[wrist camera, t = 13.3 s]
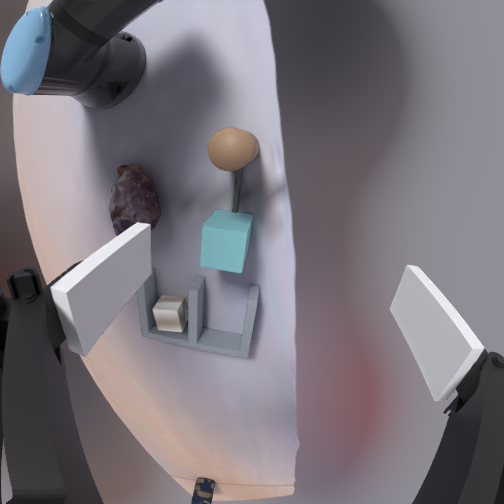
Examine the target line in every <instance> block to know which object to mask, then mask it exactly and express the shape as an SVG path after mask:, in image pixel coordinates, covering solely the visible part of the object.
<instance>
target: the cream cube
mask: <svg viewBox="0 0 504 504" xmlns="http://www.w3.org/2000/svg"><path fill="white" fill-rule="evenodd" d="M153 313H154V317H155V320H156V324H157V327H158V330H161V331H172V332H183V329H184V327H185V325H186V323H187V321H188V309H187V304H186V299H185V296H163V295H162V296H161V297H160V299H159V300H158V302H157V303H156V305H155V306H154V308H153Z"/></svg>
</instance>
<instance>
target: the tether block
mask: <svg viewBox="0 0 504 504" xmlns="http://www.w3.org/2000/svg"><path fill="white" fill-rule="evenodd" d="M258 152H259V142H258V140H257V138H256V137H255V136H254V135H253V134H251V133H249V132H246V131H243V130H240V129H237V128H230V127H229V128H224V129H221V130H219V131H217V132H216V133H215V134H214V135H213V136H212V138H211V139H210V141H209V144H208V155H209V158H210V160H211V162H212V163H213V164H214V165H215V166H216V167H218V168H219V169H221V170H224V171H236V170H237V175H236V183H235V191H234V199H233V208H232V211H226V210H219V209H216V211H215V212H214V213H213V214H212V215H211V216H210V218H209V219H208V220H207V221H206V222H205V224H204V225H203V226H202V238H201V254H200V267H206V268H212V269H217V270H223V271H229V272H235V273H242V271H243V267H244V263H245V260H246V256H247V252H248V248H249V241H250V234H251V227H252V219H253V214H246V213H239V212H237V207H238V199H239V191H240V183H241V175H242V168H243V167H244V166H245V165H246V164H248V163H249V162H250V161H252V160H253V159H254V158H255V157H256V156H257V154H258Z"/></svg>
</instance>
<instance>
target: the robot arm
mask: <svg viewBox="0 0 504 504" xmlns="http://www.w3.org/2000/svg"><path fill="white" fill-rule="evenodd" d="M162 1H163V0H53V1H52V2H51V3H50V4H49V6H48V7H47V8H46V7H44V6H43V7H42V6H41V7H36V8H33V9H31V10H30V11H29V12H27V13H25V14H24V15H23V16H22V18H21V19H20V20H19V21H18V22H17V24H16V25H15V27H14V28H13V30H12V32H11V34H10V36H9V38H8V40H7V42H6V45H5V48H4V51H3V56H2V61H1V79H2V83H3V85H4V87H5V88H6V89H7V90H8V91H9V92H12V93H19V94H25V95H63V96H71V97H73V98H74V99H76V100H77V101H79V102H80V103H81V104H83V105H85V106H87V107H91V108H108V107H111V106H114V105H116V104H118V103H119V102H121V101H122V100H124V99H125V98H126V97H127V96H128V95H129V94H130V93H131V92H132V91H133V89H134V88H135V87H136V85H137V84H138V82H139V80H140V78H141V76H142V74H143V71H144V67H145V60H146V55H145V49H144V47H143V45H142V43H141V42H140V40H139V39H137V38H136V37H135V36H133V35H131V34H129V33H127V32H123V31H121V30H123V29H124V28H125V27H126V26H127V25H129V24H130V23H131V22H132V21H134V20H135V19H136V18H138V17H139V16H140V15H142V14H143V13H144V12H146V11H147V10H148V9H150V8H151V7H153V6H154V5H155V4H157V3H158V2H159V3H160V2H162ZM151 274H152V268H151V224H145V223H138V222H137V223H136V224H134V225H133V226H131V227H130V228H128V229H127V230H125V231H124V232H123V233H121V234H120V235H118V236H117V237H115V238H114V239H113V240H111V241H110V242H108V243H107V244H106V245H104V246H103V247H101V248H100V249H99V250H97V251H96V252H95V253H93V254H92V255H91V256H89V257H88V258H87V259H85V260H83V261H80V262H78V263H76V264H74V265H72V266H71V267H70V268H68V269H67V271H65V272H63V273H62V274H61V276H58V277H57V278H56V279H54V280H53V281H52V282H51V283H50V284H48V285H47V286H46V287H45V288H44V289H42V285H41V281H40V277H39V273H38V270H36V269H35V268H31V267H28V268H22V269H18V270H16V271H14V272H13V273H12V274H10V275H9V276H8V278H7V282H8V286H9V289H10V293H11V296H12V299H11V298H5V296H4V293H3V290H2V288H1V287H0V504H2V501H1V459H2V446H3V436H4V446H5V454H6V460H7V466H8V472H9V477H10V482H11V486H12V492H13V497H12V499H11V500H10V501H8V502H6V504H104V503H103V501H102V499H101V497H100V494H99V492H98V489H97V487H96V485H95V482H94V480H93V477H92V474H91V472H90V469H89V466H88V464H87V460H86V457H85V454H84V451H83V448H82V445H81V441H80V438H79V434H78V430H77V427H76V423H75V419H74V415H73V410H72V405H71V401H70V395H69V390H68V384H67V378H66V372H65V363H64V355H63V350H62V347H61V343H62V342H63V341H64V340H65V339H66V341H67V343H68V346H69V349H70V350H71V351H73V352H75V353H78V354H80V355H82V356H85V357H86V355H87V354H88V353H89V351H90V350H91V348H92V347H93V346H94V344H95V343H96V342H97V340H98V339H99V338H100V337H101V335H102V334H103V333H104V331H105V330H106V329H107V327H108V326H109V325H110V324H111V322H112V321H113V320H114V319H115V317H116V316H117V315H118V314H119V312H120V311H121V310H122V309H123V307H124V306H125V305H126V304H127V302H128V301H129V300H130V299H131V297H132V296H133V295H134V294H135V293H136V291H137V290H138V289H139V288H140V287H141V285H142V284H143V283H144V282H145V281H146V279H147V278H148V277H149V276H150V275H151ZM390 311H391V313H392V314H393V316H394V318H395V320H396V322H397V324H398V325H399V327H400V329H401V331H402V333H403V335H404V337H405V339H406V341H407V343H408V345H409V347H410V349H411V351H412V353H413V355H414V357H415V359H416V361H417V363H418V365H419V368H420V370H421V372H422V374H423V376H424V378H425V381H426V383H427V385H428V387H429V390H430V392H431V394H432V397H433V399H434V401H439V400H445V399H448V398H449V396H450V395H451V394H452V393H453V392H454V390H455V389H456V390H457V392H458V396H457V397H456V398H455V399H454V400H453V401H452V403H451V404H450V405H449V406H448V407H447V408H446V409H445V411H444V414H445V413H446V412H447V411H448V410H451V412H450V413H449V414H448V416H449V418H448V422H447V425H446V428H445V431H444V434H443V437H442V439H441V442H440V445H439V447H438V450H437V453H436V455H435V458H434V460H433V462H432V465H431V467H430V469H429V472H428V474H427V476H426V478H425V480H424V482H423V484H422V486H421V488H420V490H419V492H418V494H417V496H416V498H415V500H414V501H413V503H412V504H504V358H503V356H501V355H500V354H498V353H496V352H490V353H487V351H486V350H485V348H484V347H483V346H482V344H481V342H480V341H479V340H478V338H477V337H476V336H475V334H474V333H473V331H472V330H471V329H470V328H469V326H468V325H467V324H466V322H465V321H464V320H463V319H462V317H461V316H460V315H459V313H458V312H457V311H456V310H455V308H454V307H453V306H452V305H451V304H450V302H449V301H448V300H447V299H446V298H445V296H444V295H443V294H442V293H441V292H440V291H439V289H438V288H437V287H436V286H435V285H434V284H433V283H432V281H431V280H430V279H429V278H428V277H427V276H426V275H425V274H424V273H423V271H422V270H421V269H420V268H419V267H417V266H411V265H407V266H406V268H405V271H404V274H403V277H402V280H401V282H400V284H399V287H398V290H397V292H396V295H395V297H394V300H393V302H392V304H391V307H390Z"/></svg>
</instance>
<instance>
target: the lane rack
mask: <svg viewBox="0 0 504 504" xmlns="http://www.w3.org/2000/svg"><path fill="white" fill-rule="evenodd" d="M151 268H152V267H151ZM204 284H205V277H202V276H196V277H195V279H194V281H193V283H192V284H191V286H190V288H189V295H188V325H187V324H186V325H185V327H184V329H183V332H172V331H161V330H158V327H157V324H156V320H155V317H154V313H153V308H154V306H155V305H156V290H155V269H154V268H152V274H151V275H150V276H149V277H148V278H147V279H146V281H145V282H144V283H143V284H142V285H141V287H140V288H139V289H138V290H137V298H138V307H139V315H140V323H141V330H142V336H143V337H147V338H151V339H155V340H159V341H163V342H167V343H171V344H175V345H180V346H184V347H188V348H193V349H198V350H203V351H208V352H213V353H218V354H224V355H229V356H235V357H241V358H248V353H249V348H250V342H251V337H252V331H253V325H254V319H255V314H256V308H257V302H258V295H259V287H260V286H256V285H251V286H250V291H249V297H248V302H247V309H246V316H245V323H244V329H243V335H241V334H235V333H229V332H224V331H218V330H213V329H207V328H203V305H204Z"/></svg>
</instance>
